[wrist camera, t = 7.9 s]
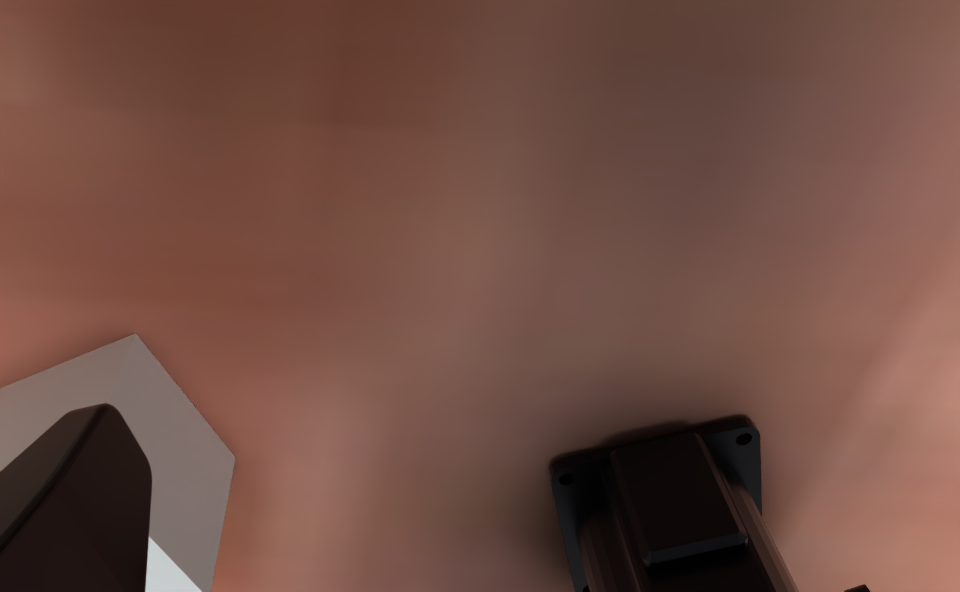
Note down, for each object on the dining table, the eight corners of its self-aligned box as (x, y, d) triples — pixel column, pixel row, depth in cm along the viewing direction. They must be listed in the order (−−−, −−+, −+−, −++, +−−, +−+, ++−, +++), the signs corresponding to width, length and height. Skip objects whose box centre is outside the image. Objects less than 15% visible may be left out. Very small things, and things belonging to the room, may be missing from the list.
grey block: (236, 455, 25) (209, 599, 21) (87, 512, 26) (33, 662, 21) (136, 331, 22) (82, 467, 18) (-27, 397, 23) (-115, 544, 19)
